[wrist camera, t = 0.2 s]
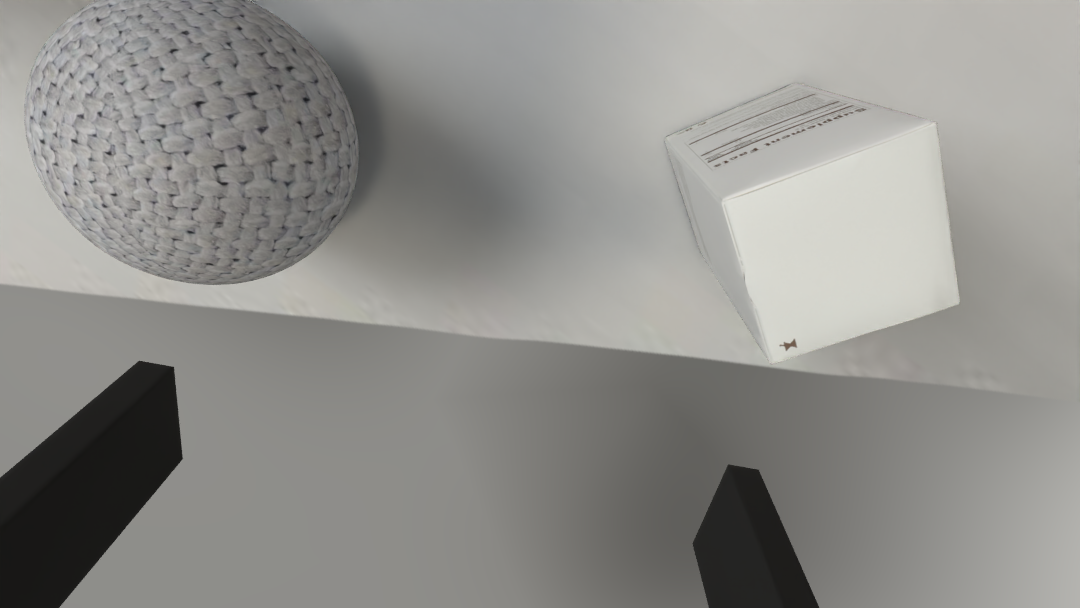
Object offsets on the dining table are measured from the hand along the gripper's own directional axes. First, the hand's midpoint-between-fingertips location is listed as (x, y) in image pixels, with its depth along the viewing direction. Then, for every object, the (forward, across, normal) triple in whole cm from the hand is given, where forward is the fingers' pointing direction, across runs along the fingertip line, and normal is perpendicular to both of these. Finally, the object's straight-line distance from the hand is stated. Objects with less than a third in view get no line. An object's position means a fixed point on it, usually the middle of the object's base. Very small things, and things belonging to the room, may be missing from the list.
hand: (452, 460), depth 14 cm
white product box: (+28, +15, +3) cm, 32 cm away
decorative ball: (+28, -16, 0) cm, 32 cm away
